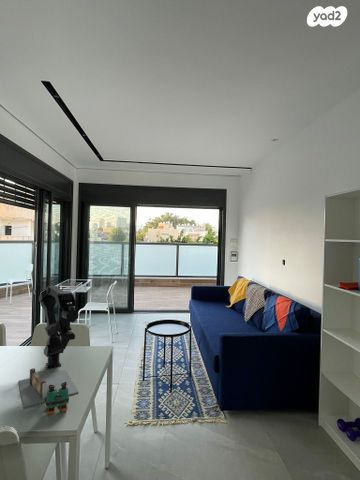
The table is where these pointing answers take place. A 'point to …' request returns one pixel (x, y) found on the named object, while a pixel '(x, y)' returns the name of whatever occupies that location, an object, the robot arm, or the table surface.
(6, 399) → the table surface
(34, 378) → the wooden bar with ends
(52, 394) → the binoculars
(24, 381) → the gate base
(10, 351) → the table surface
